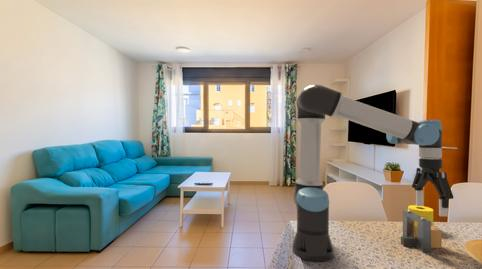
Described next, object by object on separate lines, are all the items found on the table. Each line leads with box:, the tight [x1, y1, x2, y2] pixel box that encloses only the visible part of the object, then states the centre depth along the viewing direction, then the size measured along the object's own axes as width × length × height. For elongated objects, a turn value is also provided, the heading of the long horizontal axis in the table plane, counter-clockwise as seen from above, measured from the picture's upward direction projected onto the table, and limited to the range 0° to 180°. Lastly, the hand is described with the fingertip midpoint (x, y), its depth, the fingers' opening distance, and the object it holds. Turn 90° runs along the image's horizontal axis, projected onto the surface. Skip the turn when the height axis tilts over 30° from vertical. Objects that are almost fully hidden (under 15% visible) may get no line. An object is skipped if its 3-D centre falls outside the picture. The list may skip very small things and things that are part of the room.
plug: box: [400, 225, 443, 249], centre depth 103 cm, size 14×4×7 cm, turn 87°
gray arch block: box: [402, 209, 432, 254], centre depth 103 cm, size 3×13×12 cm, turn 177°
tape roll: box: [407, 204, 434, 226], centre depth 122 cm, size 10×10×9 cm
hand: (430, 210), depth 103 cm, fingers open, 13 cm apart
